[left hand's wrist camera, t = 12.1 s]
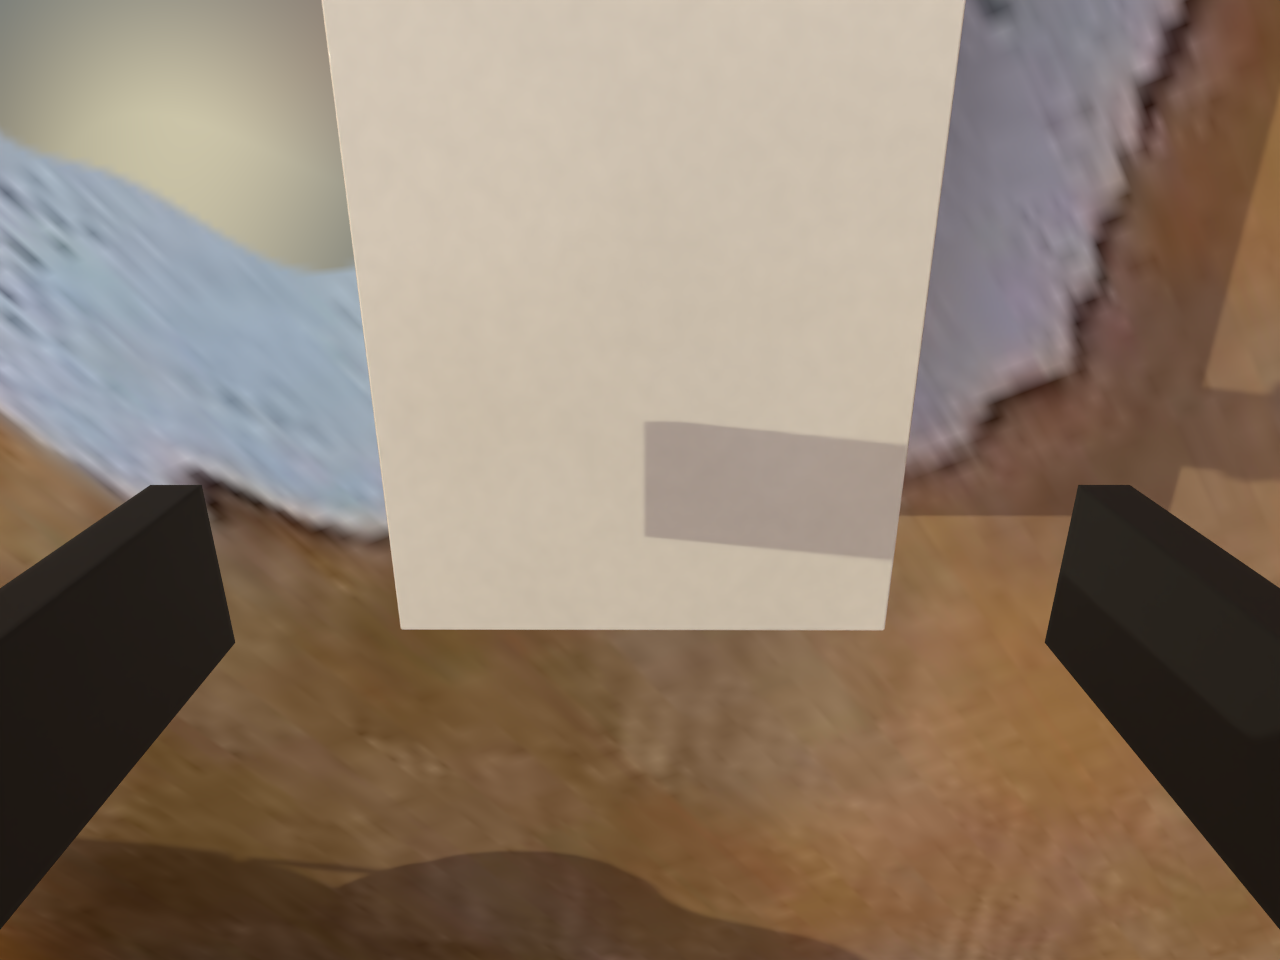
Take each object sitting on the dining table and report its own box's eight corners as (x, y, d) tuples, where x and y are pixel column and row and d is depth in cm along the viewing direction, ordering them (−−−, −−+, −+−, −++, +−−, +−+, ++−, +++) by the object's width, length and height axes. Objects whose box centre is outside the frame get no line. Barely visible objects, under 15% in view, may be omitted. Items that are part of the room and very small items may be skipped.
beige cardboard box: (420, -206, 21) (262, -456, 12) (866, -206, 21) (1026, -458, 12) (476, 479, 28) (400, 630, 19) (809, 479, 28) (885, 630, 19)
